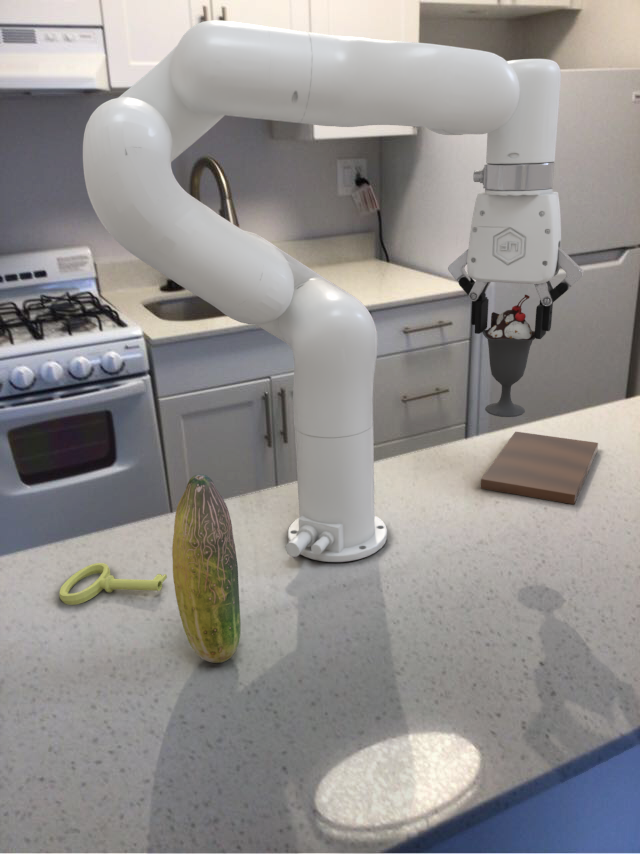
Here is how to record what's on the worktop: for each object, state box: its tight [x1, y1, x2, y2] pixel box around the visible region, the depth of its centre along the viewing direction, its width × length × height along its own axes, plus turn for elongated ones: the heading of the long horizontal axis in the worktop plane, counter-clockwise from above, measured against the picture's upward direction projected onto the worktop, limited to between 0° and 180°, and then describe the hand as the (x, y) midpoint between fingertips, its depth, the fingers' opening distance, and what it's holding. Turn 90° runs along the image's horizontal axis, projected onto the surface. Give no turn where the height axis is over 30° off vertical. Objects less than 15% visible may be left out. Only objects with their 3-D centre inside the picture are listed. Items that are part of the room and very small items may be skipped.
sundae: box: [482, 294, 536, 418], centre depth 93 cm, size 7×7×15 cm
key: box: [58, 562, 168, 606], centre depth 88 cm, size 7×12×2 cm, turn 94°
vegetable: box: [171, 473, 241, 664], centre depth 72 cm, size 6×6×20 cm
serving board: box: [480, 431, 599, 505], centre depth 113 cm, size 20×13×2 cm, turn 153°
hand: (510, 332), depth 92 cm, fingers closed on sundae, 6 cm apart
